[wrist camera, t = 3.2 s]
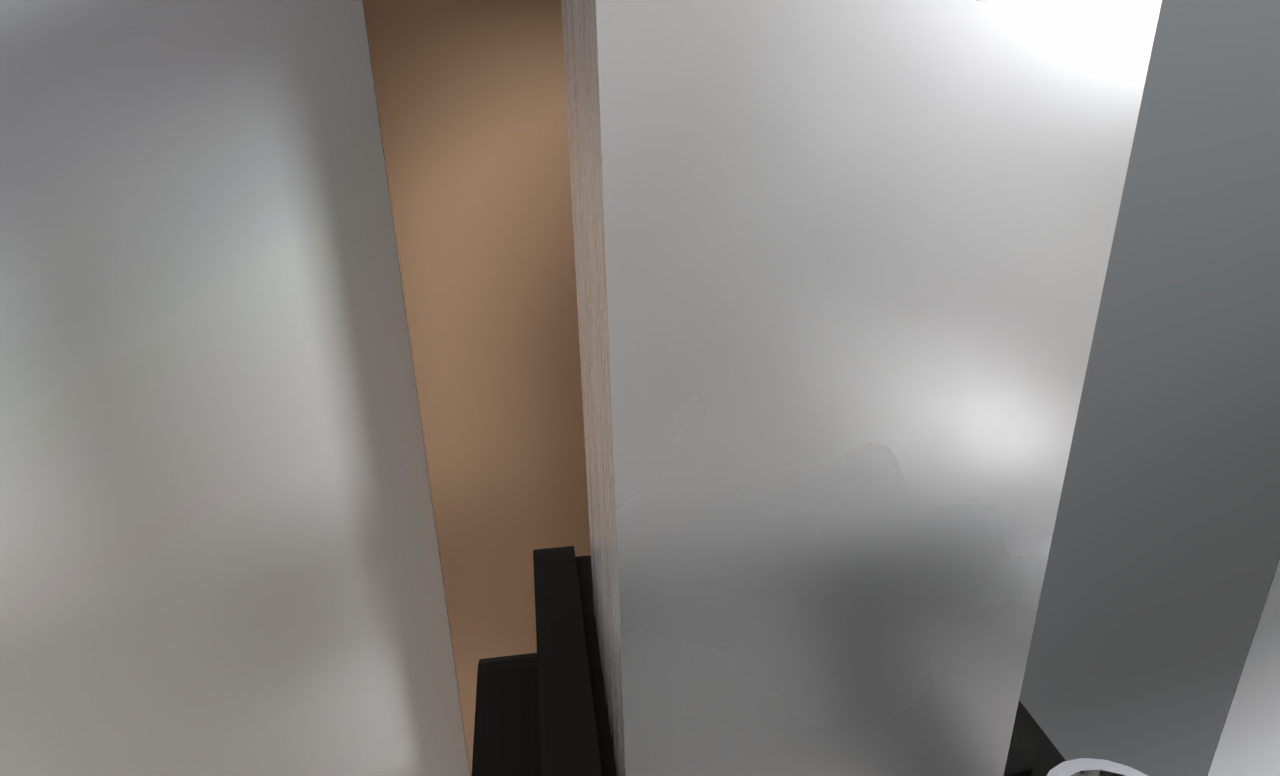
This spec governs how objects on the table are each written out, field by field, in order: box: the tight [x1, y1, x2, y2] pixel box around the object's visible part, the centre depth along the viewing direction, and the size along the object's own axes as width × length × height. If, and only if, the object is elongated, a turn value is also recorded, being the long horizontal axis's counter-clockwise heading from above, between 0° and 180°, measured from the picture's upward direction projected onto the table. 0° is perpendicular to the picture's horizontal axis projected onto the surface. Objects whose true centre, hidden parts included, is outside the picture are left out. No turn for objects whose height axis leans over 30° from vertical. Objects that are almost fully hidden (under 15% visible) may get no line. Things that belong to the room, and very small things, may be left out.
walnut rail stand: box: [363, 0, 591, 776], centre depth 13 cm, size 8×26×11 cm, turn 1°
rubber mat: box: [1019, 0, 1280, 776], centre depth 19 cm, size 10×28×1 cm, turn 1°
